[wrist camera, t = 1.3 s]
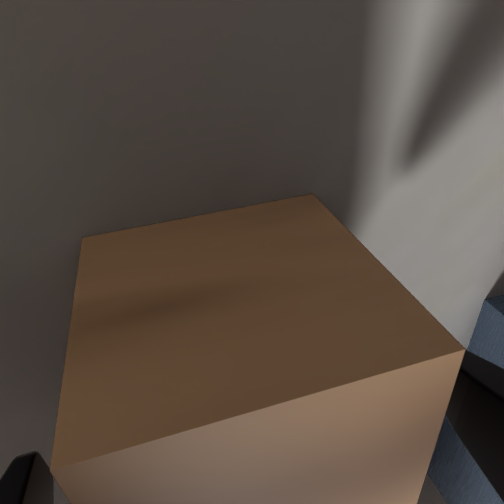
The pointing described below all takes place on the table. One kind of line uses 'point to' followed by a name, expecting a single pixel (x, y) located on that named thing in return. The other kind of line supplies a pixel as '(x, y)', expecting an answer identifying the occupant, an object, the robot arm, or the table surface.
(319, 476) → the walnut block
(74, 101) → the table surface
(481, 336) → the slate tin
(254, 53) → the table surface
